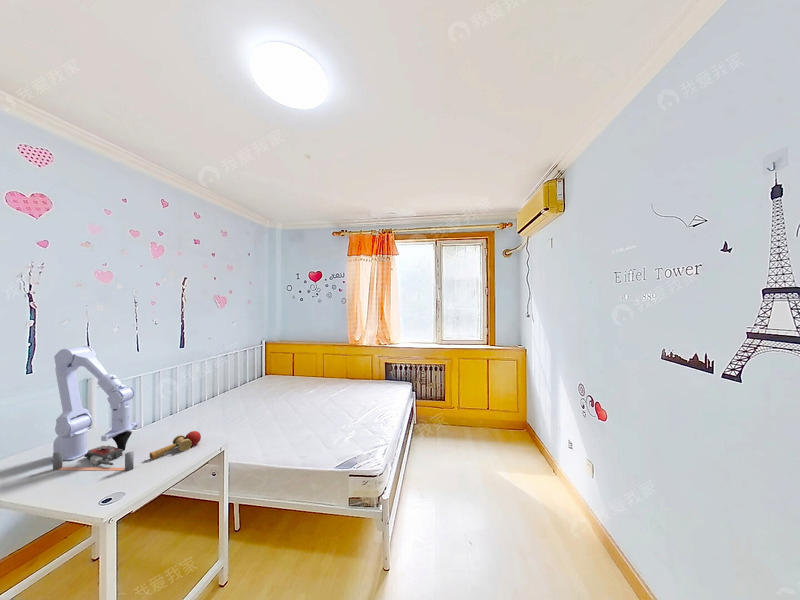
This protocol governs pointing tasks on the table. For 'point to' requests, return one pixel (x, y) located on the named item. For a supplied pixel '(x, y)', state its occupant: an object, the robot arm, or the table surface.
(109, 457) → the walkie-talkie
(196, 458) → the table surface
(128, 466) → the finish line
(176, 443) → the kendama
